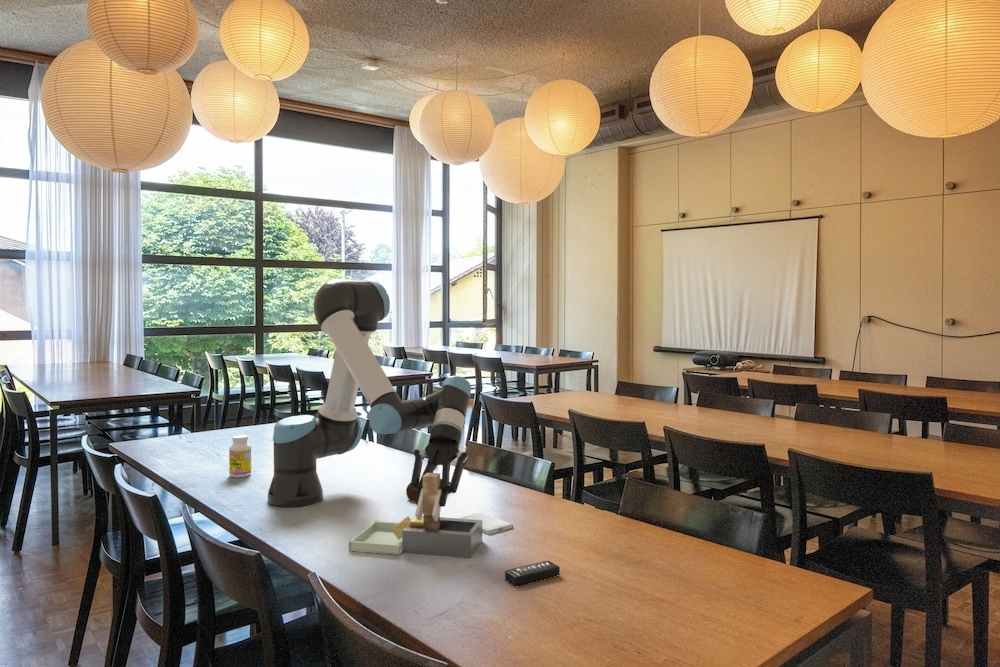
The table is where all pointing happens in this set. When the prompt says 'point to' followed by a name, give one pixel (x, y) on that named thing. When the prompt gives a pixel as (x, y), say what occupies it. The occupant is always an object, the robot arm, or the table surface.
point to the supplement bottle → (240, 457)
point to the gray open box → (445, 538)
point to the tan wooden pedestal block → (430, 499)
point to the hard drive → (489, 523)
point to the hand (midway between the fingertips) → (426, 517)
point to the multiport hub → (531, 573)
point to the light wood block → (401, 527)
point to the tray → (377, 539)
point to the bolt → (412, 493)
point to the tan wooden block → (417, 523)
